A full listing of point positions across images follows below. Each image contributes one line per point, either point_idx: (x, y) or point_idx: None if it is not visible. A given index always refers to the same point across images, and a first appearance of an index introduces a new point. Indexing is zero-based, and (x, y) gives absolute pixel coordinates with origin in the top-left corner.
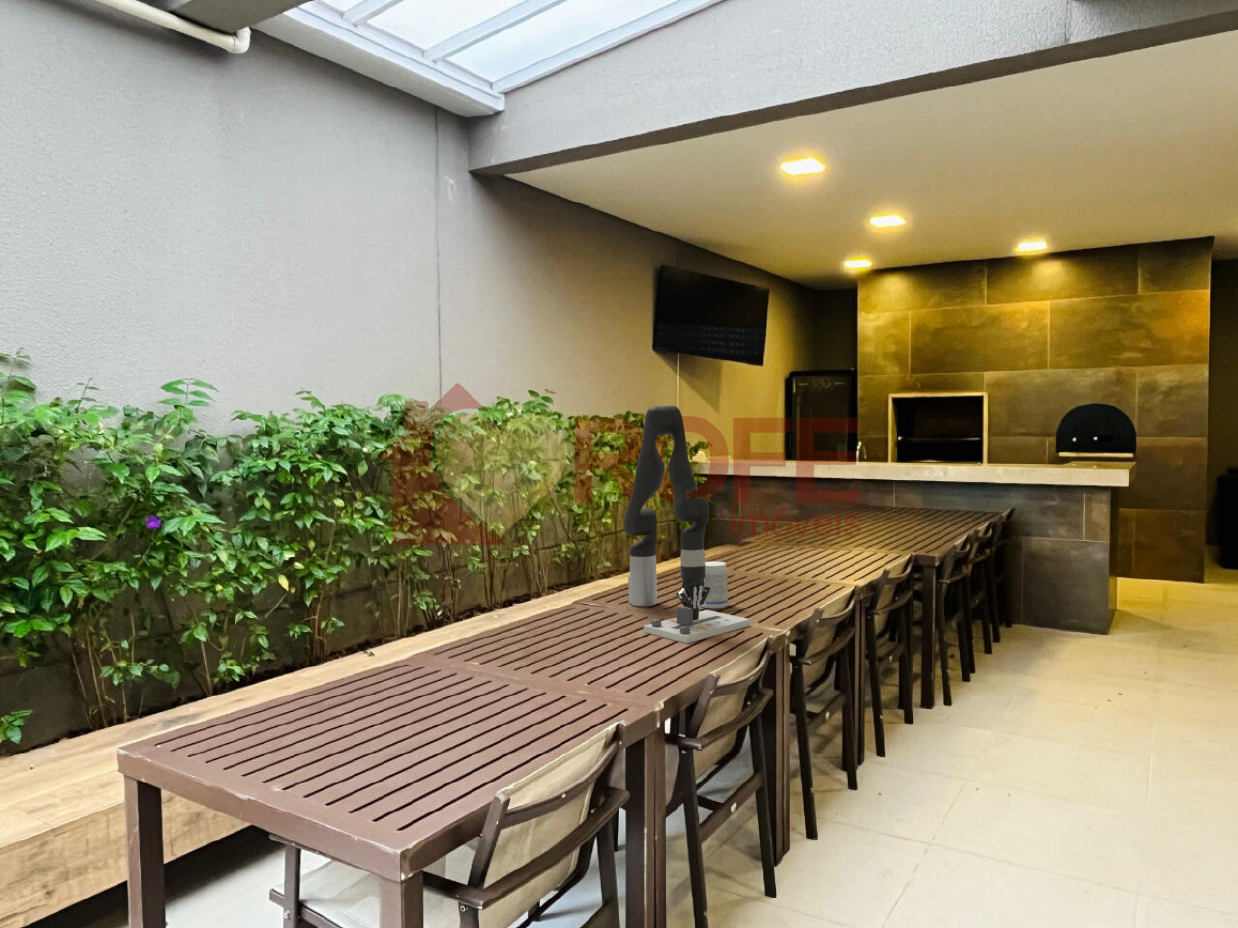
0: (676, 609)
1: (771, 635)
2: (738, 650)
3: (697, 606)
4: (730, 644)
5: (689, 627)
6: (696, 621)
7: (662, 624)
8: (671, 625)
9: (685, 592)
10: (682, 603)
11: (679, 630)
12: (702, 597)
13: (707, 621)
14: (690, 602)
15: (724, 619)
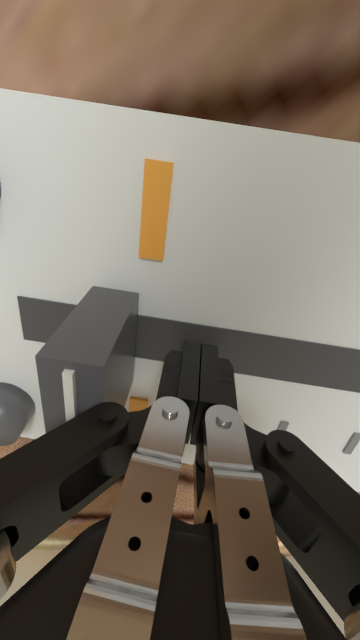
0: (47, 341)
1: (283, 544)
2: (76, 529)
3: (196, 461)
4: (108, 501)
5: (4, 444)
6: (238, 340)
7: (25, 190)
8: (56, 264)
9: (30, 591)
10: (60, 429)
11: (17, 362)
12: (291, 539)
13: (278, 383)
14: (97, 495)
15: (357, 434)
